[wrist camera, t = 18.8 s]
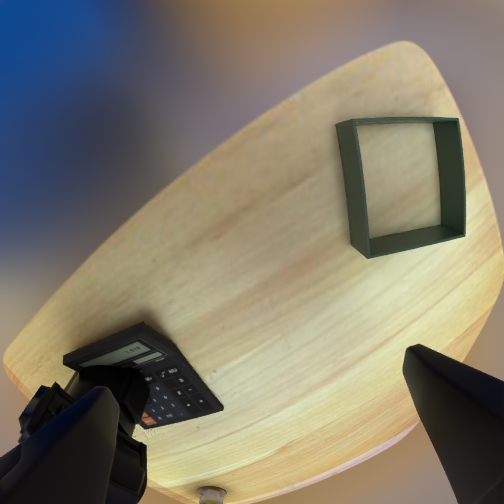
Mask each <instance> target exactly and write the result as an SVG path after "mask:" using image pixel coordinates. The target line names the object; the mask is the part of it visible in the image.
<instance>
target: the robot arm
mask: <svg viewBox="0 0 504 504" xmlns="http://www.w3.org/2000/svg"><path fill="white" fill-rule="evenodd" d="M403 375H404V378H405V380H406V383H407V386H408V388H409V391H410V394H411V396H412V399H413V402H414V405H415V407H416V410H417V413H418V415H419V417H420V419H421V421H422V423H423V425H424V427H425V429H426V432H427V434H428V436H429V438H430V440H431V442H432V444H433V446H434V448H435V451H436V453H437V455H438V457H439V459H440V462H441V464H442V466H443V468H444V471H445V473H446V475H447V477H448V480H449V482H450V484H451V487H452V489H453V491H454V494H455V496H456V499H457V502H458V504H504V381H502V380H499V379H497V378H495V377H493V376H491V375H488V374H486V373H484V372H481V371H479V370H477V369H474V368H472V367H470V366H468V365H466V364H463V363H461V362H459V361H457V360H454V359H452V358H450V357H448V356H445V355H443V354H441V353H439V352H437V351H434V350H432V349H430V348H428V347H426V346H423V345H421V344H416V345H413V346H409V347H408V348H407V349H406V352H405V357H404V363H403ZM149 394H150V389H149V387H148V385H147V383H146V382H145V380H144V378H143V376H142V374H141V372H140V371H139V370H138V369H136V368H132V367H127V368H120V367H116V366H109V365H92V366H87V367H84V368H82V369H81V370H80V371H79V372H77V371H76V372H75V373H74V375H73V376H72V378H71V380H70V381H69V383H68V384H67V386H66V388H65V389H64V390H63V389H62V388H61V387H60V385H59V384H58V383H56V382H55V383H54V384H53V385H52V387H51V388H50V387H49V386H48V387H46V386H43V385H41V386H40V388H39V389H38V391H37V392H36V394H35V395H34V397H33V398H32V399H31V401H30V402H29V404H28V405H27V407H26V408H25V409H24V411H23V412H22V414H21V416H20V417H19V422H20V426H21V431H20V434H21V436H20V438H19V440H18V443H19V445H17V446H16V447H15V448H13V449H12V450H11V451H9V452H8V453H6V454H5V455H3V456H2V457H0V504H137V503H138V502H139V501H140V499H141V498H142V496H143V494H144V492H145V489H146V485H147V445H145V444H143V443H142V442H138V441H136V440H135V439H133V438H132V434H133V431H134V428H135V425H136V424H140V422H141V420H142V416H143V413H144V410H145V407H146V405H152V404H153V400H152V398H151V396H150V395H149ZM147 400H149V401H150V403H148V402H147Z"/></svg>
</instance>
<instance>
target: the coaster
mask: <svg viewBox="0 0 504 504" xmlns="http://www.w3.org/2000/svg"><path fill="white" fill-rule="evenodd" d="M207 489H213V490H217V491H219V492H220V497H223V496H225V495H226V491H225V490H223V489H221V488H218V487H201V488H199V489H198V493H199V494H200V495H203V491H204V490H207Z"/></svg>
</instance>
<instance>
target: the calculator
mask: <svg viewBox="0 0 504 504" xmlns="http://www.w3.org/2000/svg"><path fill="white" fill-rule="evenodd" d="M63 365H65V366H67V367H69V368H71V369H73V370H75V371H77V372H79V371H80V370H81V369H82V368H84V367H87V366H92V365H109V366H116V367H120V368H127V367H132V368H136V369H138V370H139V371H140V372H141V374H142V376H143V378H144V380H145V382H146V383H147V385H148V387H149V389H150V394H149V395H150V396H151V398H152V400H153V404H152V405H146V407H145V410H144V413H143V416H142V420H141V422H140V424H139V425H140V426H142V427H143V428H144V429H150V428H155V427H160V426H164V425H169V424H173V423H178V422H182V421H186V420H190V419H194V418H198V417H201V416H205V415H209V414H212V413H216V412H219V411H223V410H224V406H223V405H222V404H221V403H220V401H219V400H218V399H217V398H216V397H215V395H214V394H213V393H212V392H211V390H210V389H209V388H208V387H207V385H206V384H205V383H204V382H203V380H202V379H201V378H200V377H199V375H198V374H197V373H196V371H195V370H194V369H193V368H192V366H191V365H190V364H189V362H188V361H187V360H186V358H185V357H184V356H183V354H182V353H181V352H180V350H179V349H178V348H177V346H176V345H175V344H174V343H172V342H171V341H169V340H168V339H166V338H165V337H164V336H162V335H161V334H159V333H158V332H157V331H155V330H154V329H152V328H151V327H150V326H148V325H147V324H146V323H144V322H141V323H139V324H137V325H134V326H132V327H130V328H127V329H125V330H123V331H120V332H118V333H116V334H113V335H111V336H109V337H106V338H104V339H102V340H99V341H97V342H95V343H92V344H90V345H87V346H85V347H83V348H80V349H78V350H76V351H73V352H71V353H68V354H66V355H64V356H63ZM147 402H148V403H150V401H149V400H147Z"/></svg>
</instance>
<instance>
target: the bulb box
mask: <svg viewBox="0 0 504 504" xmlns="http://www.w3.org/2000/svg"><path fill="white" fill-rule="evenodd" d="M390 123H433V125H434V131H435V138H436V146H437V155H438V165H439V178H440V194H441V225H437V226H432V227H427V228H422V229H417V230H412V231H407V232H402V233H397V234H392V235H387V236H382V237H377V238H371V239H369V228H368V216H367V204H366V194H365V185H364V177H363V169H362V161H361V154H360V147H359V141H358V135H357V129H356V125H370V124H390ZM336 129H337V135H338V141H339V147H340V153H341V160H342V166H343V174H344V181H345V189H346V197H347V206H348V215H349V226H350V237H351V245H352V246H353V247H354V248H355V249H356V250H358V251H359V252H360V253H361V254H362V255H364V256H365V257H366V258H367V259H370V258H374V257H379V256H383V255H388V254H393V253H397V252H402V251H406V250H410V249H415V248H419V247H423V246H428V245H432V244H436V243H440V242H445V241H449V240H453V239H457V238H461V237H465V234H466V190H465V171H464V158H463V148H462V139H461V132H460V125H459V118H444V117H385V118H363V119H351V120H348V121H344V122H341V123H338V124H336Z"/></svg>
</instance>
